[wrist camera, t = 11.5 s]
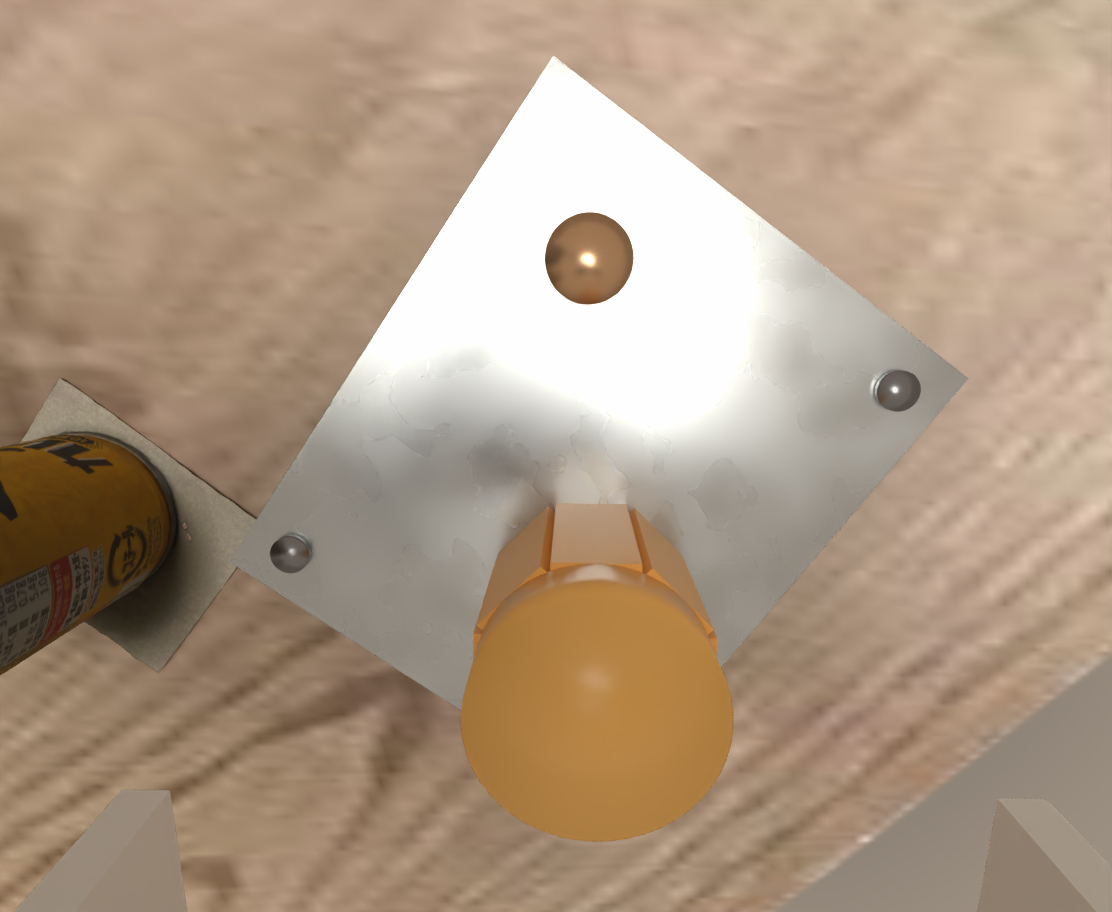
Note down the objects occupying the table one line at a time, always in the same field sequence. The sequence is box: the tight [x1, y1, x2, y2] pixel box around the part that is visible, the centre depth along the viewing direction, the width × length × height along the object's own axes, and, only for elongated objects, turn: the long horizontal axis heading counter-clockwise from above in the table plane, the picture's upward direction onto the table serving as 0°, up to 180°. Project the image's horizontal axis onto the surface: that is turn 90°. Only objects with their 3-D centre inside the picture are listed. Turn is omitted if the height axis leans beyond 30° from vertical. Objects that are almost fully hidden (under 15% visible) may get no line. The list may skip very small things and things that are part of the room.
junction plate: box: [229, 56, 968, 710], centre depth 20 cm, size 15×18×7 cm
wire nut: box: [461, 503, 733, 842], centre depth 18 cm, size 6×6×7 cm
